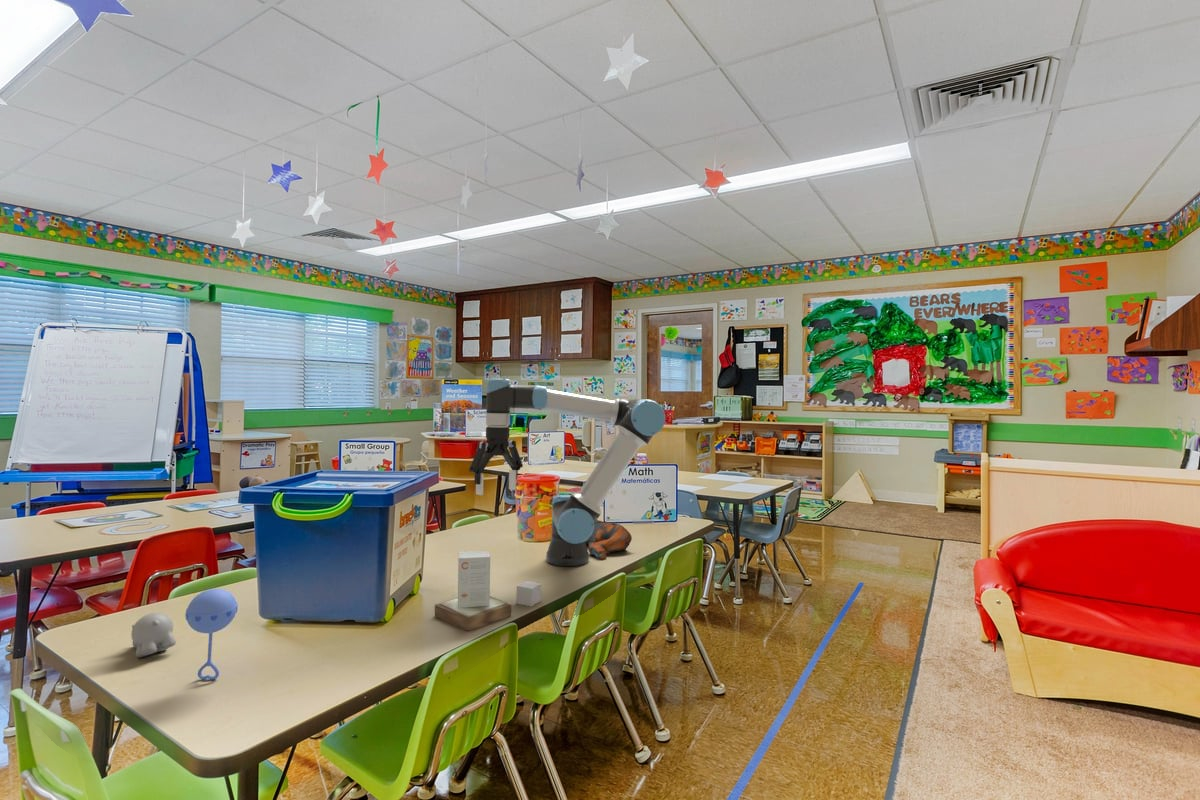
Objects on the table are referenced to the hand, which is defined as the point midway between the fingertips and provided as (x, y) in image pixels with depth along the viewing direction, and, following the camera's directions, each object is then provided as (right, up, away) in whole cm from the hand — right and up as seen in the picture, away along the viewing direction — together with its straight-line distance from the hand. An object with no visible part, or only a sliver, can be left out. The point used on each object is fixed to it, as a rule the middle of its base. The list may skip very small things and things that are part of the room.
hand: (496, 492), depth 184 cm
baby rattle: (-44, -26, -70) cm, 87 cm away
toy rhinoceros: (-66, -26, -59) cm, 92 cm away
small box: (0, -24, -34) cm, 42 cm away
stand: (0, -27, -34) cm, 44 cm away
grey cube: (+13, -27, -23) cm, 38 cm away
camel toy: (+31, -28, +34) cm, 54 cm away
